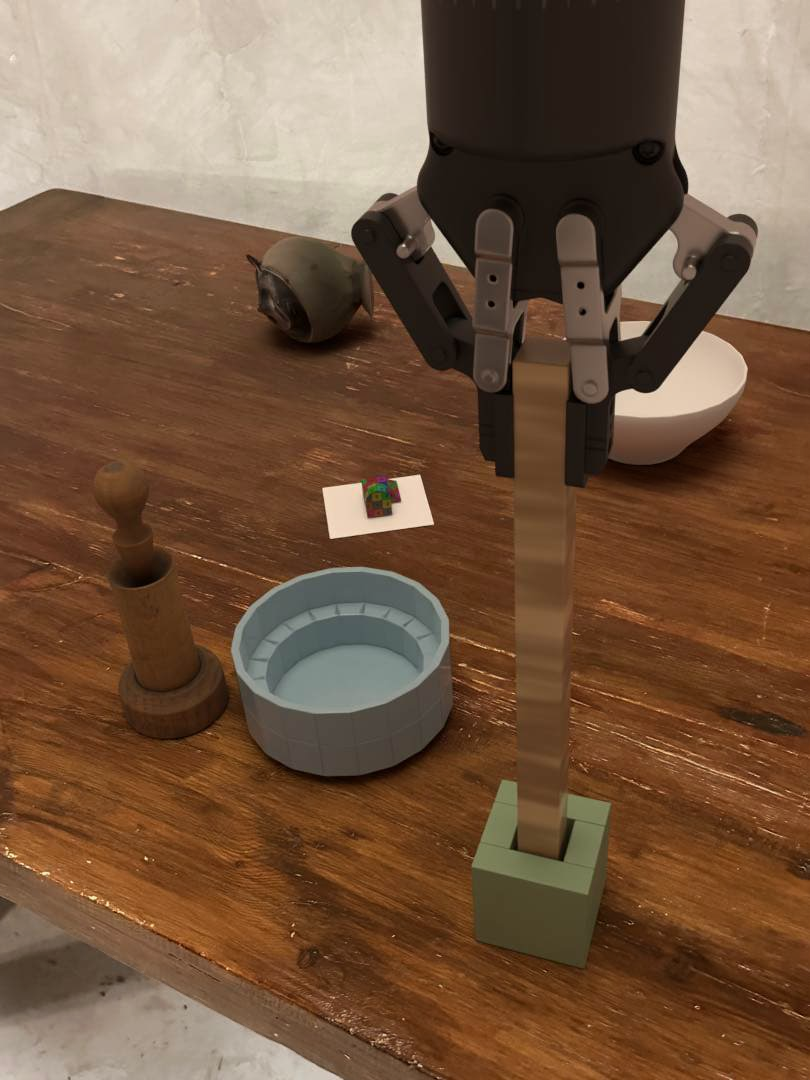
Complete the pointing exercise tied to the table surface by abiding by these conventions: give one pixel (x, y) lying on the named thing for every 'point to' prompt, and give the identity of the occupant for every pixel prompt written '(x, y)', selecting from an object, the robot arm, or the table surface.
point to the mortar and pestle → (155, 621)
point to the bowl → (677, 401)
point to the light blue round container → (344, 670)
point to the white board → (376, 506)
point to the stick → (542, 592)
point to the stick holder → (541, 882)
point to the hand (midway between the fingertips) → (546, 469)
